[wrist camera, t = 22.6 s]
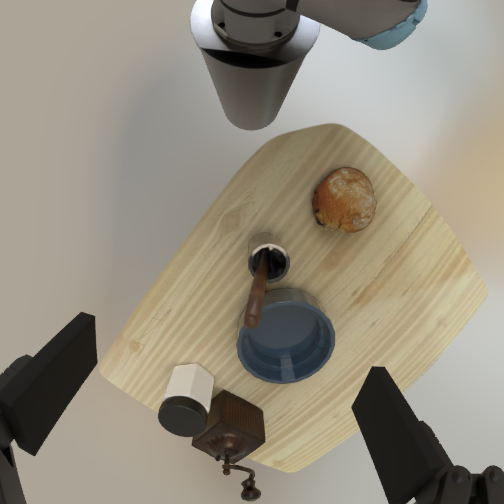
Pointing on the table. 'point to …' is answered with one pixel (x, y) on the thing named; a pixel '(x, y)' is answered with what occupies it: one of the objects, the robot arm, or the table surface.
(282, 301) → the bowl
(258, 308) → the stick
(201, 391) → the jar
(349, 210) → the bread roll
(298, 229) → the table surface
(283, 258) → the holder
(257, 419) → the manual coffee grinder
